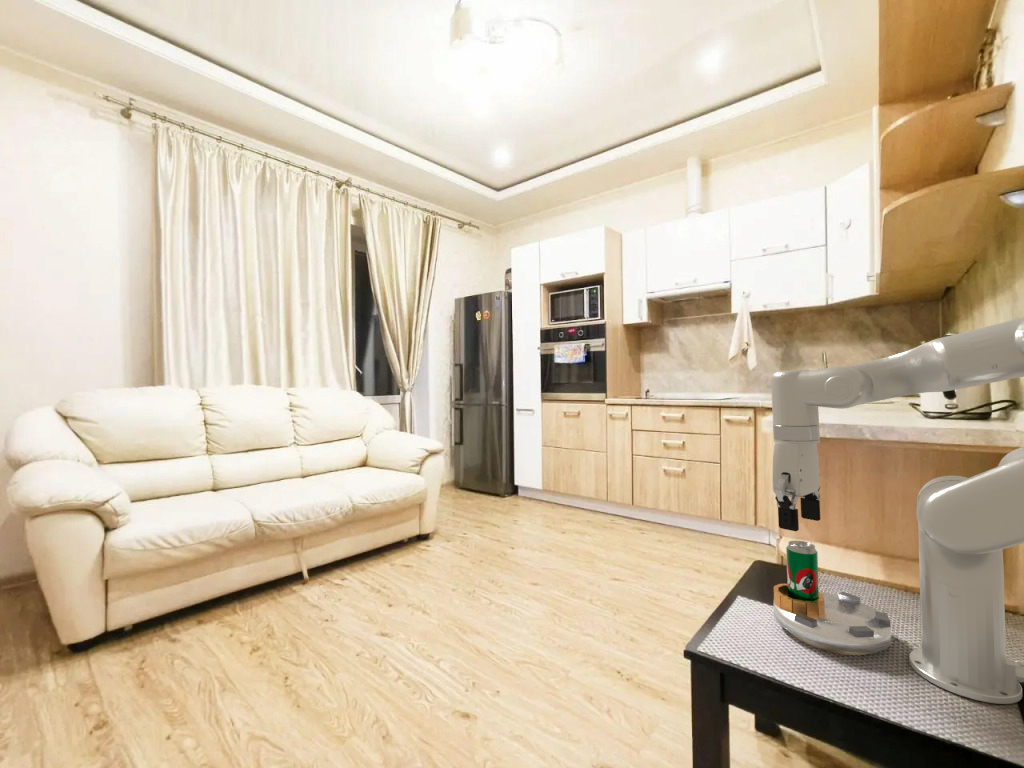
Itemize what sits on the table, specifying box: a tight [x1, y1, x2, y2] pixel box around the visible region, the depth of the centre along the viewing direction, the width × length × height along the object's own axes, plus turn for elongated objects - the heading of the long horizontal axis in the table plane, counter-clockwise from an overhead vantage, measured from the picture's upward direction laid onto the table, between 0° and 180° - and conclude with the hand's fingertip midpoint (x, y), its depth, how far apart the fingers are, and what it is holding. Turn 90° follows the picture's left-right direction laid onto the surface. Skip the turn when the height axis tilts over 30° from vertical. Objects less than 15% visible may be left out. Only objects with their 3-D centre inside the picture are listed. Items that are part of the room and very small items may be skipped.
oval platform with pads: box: [773, 583, 892, 653], centre depth 85 cm, size 18×18×5 cm
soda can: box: [785, 540, 819, 601], centre depth 87 cm, size 5×5×12 cm
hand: (800, 524), depth 86 cm, fingers open, 9 cm apart
